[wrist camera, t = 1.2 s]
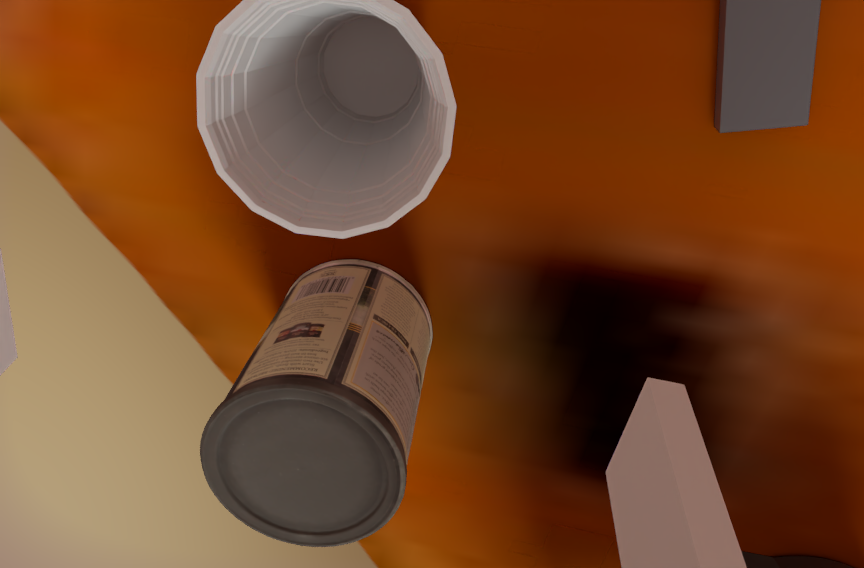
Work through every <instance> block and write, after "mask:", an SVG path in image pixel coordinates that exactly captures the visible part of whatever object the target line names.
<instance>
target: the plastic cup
mask: <svg viewBox="0 0 864 568" xmlns="http://www.w3.org/2000/svg"><path fill="white" fill-rule="evenodd" d="M196 88H197V126H198V129H199V131H200V134H201V136H202V138H203V141H204V143H205V146H206V148H207V150H208V153H209V155H210V158H211V160H212V162H213V165H214V167H215V169H216V172H217V174H218V175H219V176H220V177H221V178H222V179H223V180H224V181H225V183H226V184H227V185H228V186H229V187H230V188H231V189H232V190H233V191H234V192H235V193H236V194H237V195H238V197H239V198H240V199H241V200H242V201H243V202H244V203H245V204H246V205H247V206H248V207H249V208H250V209H251V211H253V212H255V213H257V214H259V215H261V216H263V217H265V218H267V219H269V220H271V221H273V222H275V223H276V224H278V225H280V226H282V227H284V228H286V229H288V230H290V231H292V232H294V233H297V234H306V235H314V236H322V237H331V238H339V239H345V238H349V237H352V236H356V235H360V234H364V233H368V232H372V231H376V230H379V229H383V228H387V227H389V226H391V225H392V224H393V223H395V222H396V221H397V220H399V219H400V218H401V217H403V216H404V215H405V214H406V213H408V212H409V211H410V210H412V209H413V208H414V207H416V206H417V205H418V204H420V203H421V202H422V201H424V200H425V199H426V198H427V196H428V194H429V193H430V191H431V189H432V187H433V186H434V184H435V182H436V181H437V179H438V177H439V175H440V174H441V172H442V170H443V168H444V167H445V165H446V163H447V162H448V160H449V158H450V154H451V147H452V139H453V131H454V123H455V115H456V107H457V106H456V102H455V98H454V95H453V91H452V87H451V84H450V80H449V76H448V72H447V69H446V65H445V61H444V57H443V54H442V53H441V51H440V50H439V49H438V47H437V46H436V45H435V43H434V42H433V41H432V40H431V38H430V37H429V36H428V34H427V33H426V32H425V30H424V29H423V28H422V26H421V25H420V24H419V22H418V21H417V20H416V18H415V17H414V16H413V14H412V13H411V12H410V10H409V9H407V8H405V7H404V6H402V5H400V4H399V3H397V2H395V1H394V0H243V1H242V2H241V3H240V4H239V5H237V6H236V7H235V8H234V9H233V10H232V11H231V12H230V13H229V14H228V15H227V16H226V17H225V18H224V19H223V20H222V21H220V22H219V23H218V24H217V25H216V26H215V29H214V31H213V34H212V36H211V39H210V41H209V44H208V46H207V49H206V51H205V54H204V56H203V59H202V61H201V64H200V66H199V69H198V71H197V74H196Z"/></svg>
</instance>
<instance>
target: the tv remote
mask: <svg viewBox="0 0 864 568" xmlns="http://www.w3.org/2000/svg"><path fill="white" fill-rule="evenodd" d="M820 6H821V0H720V13H719V34H718V55H717V76H716V96H715V117H714V127H715V128H716V129H717V130H718V132H719V133H725V132H736V131H748V130H759V129H770V128H781V127H792V126H803V125H808V119H809V109H810V100H811V91H812V81H813V72H814V62H815V53H816V44H817V34H818V25H819V15H820Z"/></svg>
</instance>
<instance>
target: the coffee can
mask: <svg viewBox="0 0 864 568" xmlns="http://www.w3.org/2000/svg"><path fill="white" fill-rule="evenodd" d="M432 337H433V332H432V322H431V318H430V314H429V311H428V309H427V307H426V305H425V303H424V301H423V299H422V298H421V296H420V295H419V293H418V292H417V291H416V290H415V288H414V287H413V286H412V285H411V284H410V283H409V282H407V281H406V280H405V279H404V278H403V277H401V276H400V275H399V274H397V273H395V272H394V271H392V270H390V269H388V268H386V267H384V266H382V265H379V264H376V263H373V262H369V261H364V260H359V259H345V260H335V261H330V262H326V263H323V264H320V265H318V266H316V267H314V268H312V269H310V270H309V271H307V272H306V273H304V274H302V275H301V276H300V277H299V278H298V279H297V280H296V282H295V283H294V284H293V285H292V286H291V288H290V289H289V291H288V293H287V295H286V297H285V299H284V301H283V303H282V305H281V306H280V308H279V310H278V312H277V313H276V315H275V317H274V318H273V320H272V322H271V323H270V325H269V327H268V328H267V330H266V332H265V333H264V335H263V337H262V338H261V340H260V342H259V343H258V345H257V347H256V348H255V350H254V352H253V353H252V355H251V357H250V358H249V360H248V361H247V363H246V365H245V366H244V368H243V370H242V371H241V373H240V375H239V377H238V378H237V380H236V382H235V383H234V385H233V386H232V388H231V390H230V392H229V393H228V395H227V397H226V399H225V400H224V401H223V402H222V403H221V404H220V405H219V406H218V407H217V409H216V410H215V411H214V413H213V414H212V415H211V417H210V419H209V421H208V422H207V424H206V426H205V428H204V431H203V434H202V438H201V445H200V456H201V462H202V468H203V471H204V475H205V477H206V480H207V482H208V484H209V487H210V488H211V490H212V491H213V493H214V495H215V496H216V497H217V498H218V500H219V501H220V502H221V503H222V504H223V505H224V507H225V508H226V509H227V510H229V512H231V513H232V514H233V515H234V516H235V517H236V518H237V519H239V520H240V521H242V522H243V523H245V524H246V525H247V526H249V527H251V528H252V529H254V530H256V531H258V532H260V533H262V534H264V535H266V536H268V537H271V538H274V539H277V540H280V541H283V542H287V543H291V544H296V545H301V546H311V547H328V546H329V547H330V546H339V545H344V544H348V543H352V542H355V541H358V540H360V539H363V538H365V537H367V536H369V535H371V534H373V533H375V532H376V531H378V530H379V529H380V528H381V527H383V526H384V525H385V524H386V523H387V522H388V521H389V520H390V519H391V518H392V517H393V515H394V514H395V512H396V511H397V509H398V508H399V505H400V503H401V501H402V498H403V496H404V491H405V486H406V475H407V461H408V456H409V451H410V446H411V441H412V436H413V430H414V425H415V420H416V414H417V409H418V404H419V400H420V394H421V389H422V384H423V379H424V373H425V368H426V363H427V357H428V354H429V351H430V348H431V343H432Z"/></svg>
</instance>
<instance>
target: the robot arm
mask: <svg viewBox="0 0 864 568" xmlns="http://www.w3.org/2000/svg"><path fill="white" fill-rule="evenodd" d="M16 358H17V351H16V344H15V338H14V331H13V325H12V318H11V312H10V305H9V300H8V293H7V286H6V280H5V274H4V267H3V260H2V254H1V249H0V375H1V374H2V373H3V372H4V371H5V370H6V369H7V368H8V367H9V366H10V365H11V364H12V362H13V361H14V360H15V359H16ZM606 478H607V484H608V490H609V496H610V502H611V508H612V514H613V520H614V526H615V532H616V538H617V544H618V550H619V556H620V562H621V568H853V567H851V566H848V565H846V564H843V563H840V562H836V561H833V560H829V559H824V558H818V557H808V556H784V557H775V558H772V557H769V556H764V555H759V554H754V553H749V552H743V551H741V549H740V546H739V543H738V540H737V538H736V535H735V532H734V529H733V526H732V523H731V520H730V517H729V514H728V511H727V508H726V505H725V502H724V499H723V497H722V494H721V491H720V488H719V485H718V482H717V479H716V476H715V473H714V470H713V467H712V464H711V461H710V458H709V456H708V453H707V450H706V447H705V444H704V441H703V438H702V435H701V432H700V429H699V426H698V423H697V420H696V417H695V415H694V412H693V409H692V406H691V403H690V400H689V397H688V394H687V391H686V388H685V385H684V384H679V383H673V382H668V381H663V380H658V379H653V378H648V377H647V380H646V382H645V384H644V386H643V389H642V391H641V393H640V395H639V398H638V400H637V402H636V404H635V407H634V409H633V411H632V413H631V416H630V418H629V420H628V422H627V425H626V427H625V429H624V431H623V434H622V436H621V438H620V441H619V443H618V445H617V447H616V450H615V452H614V454H613V456H612V459H611V461H610V463H609V465H608V468H607V470H606Z"/></svg>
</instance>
